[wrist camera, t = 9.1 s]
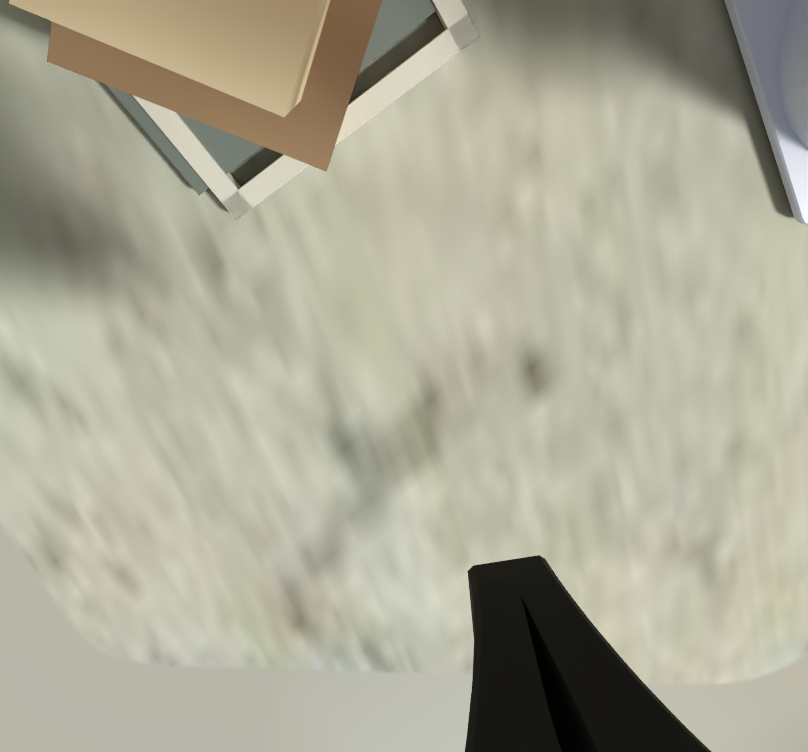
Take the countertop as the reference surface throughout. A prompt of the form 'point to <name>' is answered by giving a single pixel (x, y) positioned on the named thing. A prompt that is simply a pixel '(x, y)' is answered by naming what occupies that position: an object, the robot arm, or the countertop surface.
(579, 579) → the countertop surface
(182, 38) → the maple cube
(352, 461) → the countertop surface
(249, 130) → the walnut slab
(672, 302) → the countertop surface
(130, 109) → the slate mat
